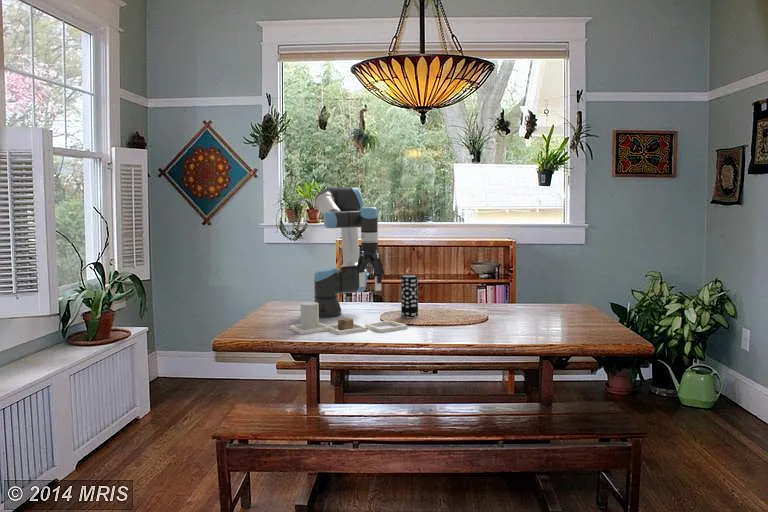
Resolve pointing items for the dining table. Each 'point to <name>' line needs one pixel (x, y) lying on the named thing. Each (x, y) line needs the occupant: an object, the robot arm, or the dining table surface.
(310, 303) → the cup
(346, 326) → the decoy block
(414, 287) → the white-spotted black cylinder
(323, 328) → the frame
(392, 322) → the frame
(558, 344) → the dining table surface
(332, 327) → the frame
